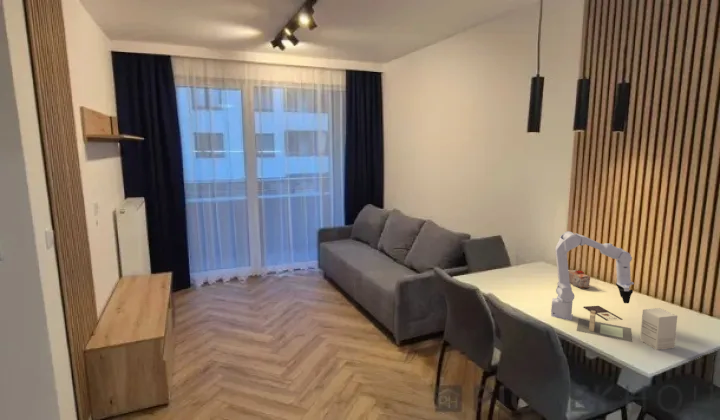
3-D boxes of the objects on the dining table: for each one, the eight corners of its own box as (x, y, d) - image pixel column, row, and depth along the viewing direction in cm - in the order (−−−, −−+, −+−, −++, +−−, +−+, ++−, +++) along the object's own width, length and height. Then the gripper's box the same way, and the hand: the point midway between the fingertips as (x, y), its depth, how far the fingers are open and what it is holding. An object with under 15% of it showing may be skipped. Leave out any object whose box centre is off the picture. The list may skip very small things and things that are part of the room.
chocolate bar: (598, 305, 218) (623, 319, 201) (598, 307, 219) (623, 321, 201) (583, 306, 218) (606, 320, 200) (583, 308, 218) (606, 322, 200)
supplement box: (656, 338, 181) (659, 307, 179) (674, 348, 173) (678, 315, 170) (639, 340, 180) (642, 308, 178) (656, 350, 171) (659, 317, 169)
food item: (591, 288, 246) (592, 273, 244) (580, 289, 244) (581, 274, 243) (575, 281, 259) (576, 267, 258) (565, 282, 258) (566, 267, 256)
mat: (576, 331, 189) (576, 330, 189) (578, 319, 203) (578, 318, 203) (632, 343, 178) (632, 341, 178) (631, 329, 191) (631, 328, 191)
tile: (589, 325, 194) (590, 310, 193) (594, 326, 193) (595, 311, 192) (588, 330, 189) (590, 314, 188) (594, 331, 188) (595, 315, 187)
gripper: (636, 278, 190) (637, 305, 191) (630, 269, 203) (631, 294, 204) (618, 278, 193) (620, 305, 194) (613, 269, 206) (615, 294, 207)
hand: (624, 300), depth 200 cm, fingers open, 7 cm apart
